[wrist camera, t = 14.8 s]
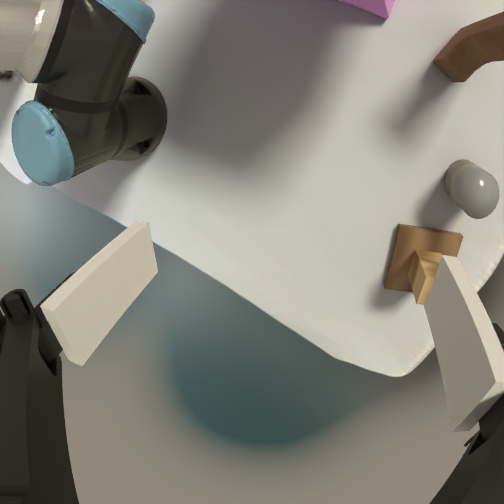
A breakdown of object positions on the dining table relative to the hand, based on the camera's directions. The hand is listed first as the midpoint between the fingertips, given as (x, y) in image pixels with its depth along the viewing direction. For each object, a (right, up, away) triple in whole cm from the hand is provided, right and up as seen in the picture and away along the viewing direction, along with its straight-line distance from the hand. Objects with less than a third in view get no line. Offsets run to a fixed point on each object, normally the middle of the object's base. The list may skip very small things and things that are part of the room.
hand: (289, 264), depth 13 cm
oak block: (+28, -2, +32) cm, 43 cm away
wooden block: (+29, +29, +16) cm, 44 cm away
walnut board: (+28, -1, +33) cm, 44 cm away
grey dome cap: (+32, +12, +25) cm, 42 cm away
